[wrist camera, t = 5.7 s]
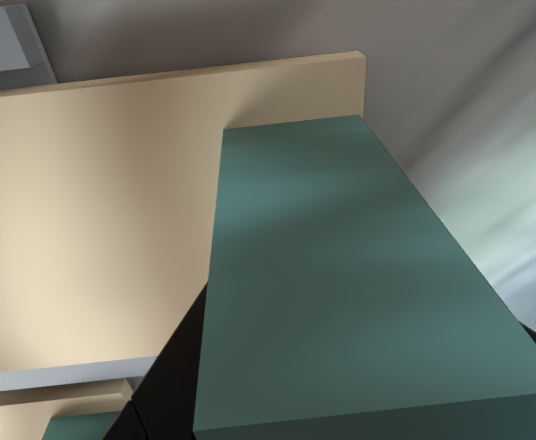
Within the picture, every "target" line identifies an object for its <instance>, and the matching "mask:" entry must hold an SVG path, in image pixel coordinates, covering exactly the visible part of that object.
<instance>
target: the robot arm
mask: <svg viewBox="0 0 536 440" xmlns="http://www.w3.org/2000/svg"><path fill="white" fill-rule="evenodd" d="M207 285H208V281H207V283H206V284H205V286H204V287H203V289H202V290H201V292H200V293H199V295H198V296H197V298H196V299H195V301H194V302H193V304H192V305H191V307H190V308H189V310H188V311H187V313H186V314H185V316H184V317H183V319H182V320H181V322H180V323H179V325H178V326H177V328H176V329H175V331H174V332H173V334H172V335H171V337H170V338H169V340H168V341H167V343H166V344H165V346H164V347H163V349H162V350H161V352H160V353H159V355H158V356H157V358H156V359H155V361H154V362H153V364H152V365H151V367H150V368H149V370H148V371H147V373H146V374H145V376H144V377H143V379H142V380H141V382H140V383H139V385H138V386H137V388H136V389H135V391H134V392H133V394H132V395H131V400H132V401H131V400H128V401H127V403H126V404H125V406H124V407H123V409H122V410H121V412H120V413H119V415H118V416H117V418H116V419H115V421H114V422H113V423H112V425H111V426H110V428H109V429H108V431H107V432H106V433H105V435H104V436H103V438H102V439H101V440H196V437H195V435H194V432H193V424H194V414H195V404H196V394H197V385H198V375H199V365H200V355H201V345H202V335H203V325H204V315H205V305H206V295H207ZM519 323H520V324H521V325H522V327H523V328H524V329H525V331H526V332H527V333H528V334H529V336H530V337H531V338H532V340H533V341H534V342H535V343H536V332H535V331H533V330H532V329H530V328H529V327H527V326H526V325H524V324H523V323H521V322H520V321H519Z"/></svg>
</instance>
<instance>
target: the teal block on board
mask: <svg viewBox="0 0 536 440" xmlns="http://www.w3.org/2000/svg"><path fill="white" fill-rule="evenodd" d="M366 63H367V57H366V56H365V55H364V54H362V53H361V52H360V51H351V52H341V53H332V54H323V55H314V56H305V57H296V58H287V59H278V60H269V61H260V62H250V63H241V64H232V65H223V66H214V67H205V68H196V69H187V70H178V71H169V72H159V73H150V74H141V75H132V76H123V77H114V78H105V79H96V80H87V81H78V82H69V83H59V84H50V85H41V86H32V87H23V88H14V89H5V90H0V373H2V372H12V371H21V370H30V369H39V368H48V367H58V366H67V365H76V364H85V363H94V362H103V361H113V360H122V359H131V358H140V357H149V356H158V355H159V353H160V352H161V350H162V349H163V347H164V346H165V344H166V343H167V341H168V340H169V338H170V337H171V335H172V334H173V332H174V331H175V329H176V328H177V326H178V325H179V323H180V322H181V320H182V319H183V317H184V316H185V314H186V313H187V311H188V310H189V308H190V307H191V305H192V304H193V302H194V301H195V299H196V298H197V296H198V295H199V293H200V292H201V290H202V289H203V287H204V286H205V284H206V283H207V281H208V285H207V295H206V305H205V315H204V325H203V335H202V345H201V355H200V365H199V375H198V385H197V394H196V404H195V414H194V424H193V432H194V435H195V437H196V440H536V343H535V342H534V341H533V340H532V338H531V337H530V336H529V334H528V333H527V332H526V331H525V329H524V328H523V327H522V325H521V324H520V323H519V321H518V320H517V319H516V318H515V316H514V315H513V314H512V312H511V311H510V310H509V309H508V307H507V306H506V305H505V303H504V302H503V301H502V299H501V298H500V297H499V296H498V294H497V293H496V292H495V290H494V289H493V288H492V286H491V285H490V284H489V283H488V281H487V280H486V279H485V277H484V276H483V275H482V274H481V272H480V271H479V270H478V268H477V267H476V266H475V264H474V263H473V262H472V261H471V259H470V258H469V257H468V255H467V254H466V253H465V252H464V250H463V249H462V248H461V246H460V245H459V244H458V242H457V241H456V240H455V239H454V237H453V236H452V235H451V233H450V232H449V231H448V229H447V228H446V227H445V226H444V224H443V223H442V222H441V220H440V219H439V218H438V217H437V215H436V214H435V213H434V211H433V210H432V209H431V207H430V206H429V205H428V204H427V202H426V201H425V200H424V198H423V197H422V196H421V195H420V193H419V192H418V191H417V189H416V188H415V187H414V185H413V184H412V183H411V182H410V180H409V179H408V178H407V176H406V175H405V174H404V173H403V171H402V170H401V169H400V167H399V166H398V165H397V163H396V162H395V161H394V160H393V158H392V157H391V156H390V154H389V153H388V152H387V150H386V149H385V148H384V147H383V145H382V144H381V143H380V141H379V140H378V139H377V138H376V136H375V135H374V134H373V132H372V131H371V130H370V128H369V127H368V126H367V125H366V123H365V122H364V121H363V114H364V97H365V80H366Z"/></svg>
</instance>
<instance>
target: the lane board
mask: <svg viewBox="0 0 536 440" xmlns="http://www.w3.org/2000/svg"><path fill="white" fill-rule="evenodd" d="M50 84H58V82H57V80H56V77H55V75H54V72H53V70H52V67H51V65H50V62H49V60H48V57H47V55H46V52H45V50H44V47H43V45H42V42H41V40H40V37H39V35H38V33H37V30H36V28H35V25H34V23H33V20H32V18H31V15H30V13H29V10H28V8H27V5H26V3H22V4H13V5H4V6H0V90H5V89H14V88H23V87H32V86H41V85H50ZM156 358H157V356H149V357H140V358H131V359H122V360H113V361H103V362H94V363H85V364H76V365H67V366H58V367H48V368H39V369H30V370H21V371H12V372H2V373H0V391H7V390H16V389H25V388H34V387H44V386H53V385H62V384H71V383H80V382H90V381H99V380H108V379H117V378H126V379H127V381H128V383H129V385H130V387H131V388H132V390H133V392H134V391H135V389H136V388H137V386H138V385H139V383H140V382H141V380H142V379H143V377H144V376H145V374H146V373H147V371H148V370H149V368H150V367H151V365H152V364H153V362H154V361H155V359H156Z"/></svg>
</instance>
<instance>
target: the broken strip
mask: <svg viewBox="0 0 536 440" xmlns="http://www.w3.org/2000/svg"><path fill="white" fill-rule="evenodd" d="M132 394H133V390H132V388H131V387H130V385H129V383H128V381H127V379H126V378H117V379H108V380H99V381H90V382H80V383H71V384H62V385H53V386H44V387H34V388H25V389H16V390H7V391H0V440H101V439H102V438H103V436H104V435H105V433H106V432H107V431H108V429H109V428H110V426H111V425H112V423H113V422H114V421H115V419H116V418H117V416H118V415H119V413H120V412H121V410H122V409H123V407H124V406H125V404H126V403H127V401H128V400H131V395H132ZM131 401H132V400H131Z"/></svg>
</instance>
